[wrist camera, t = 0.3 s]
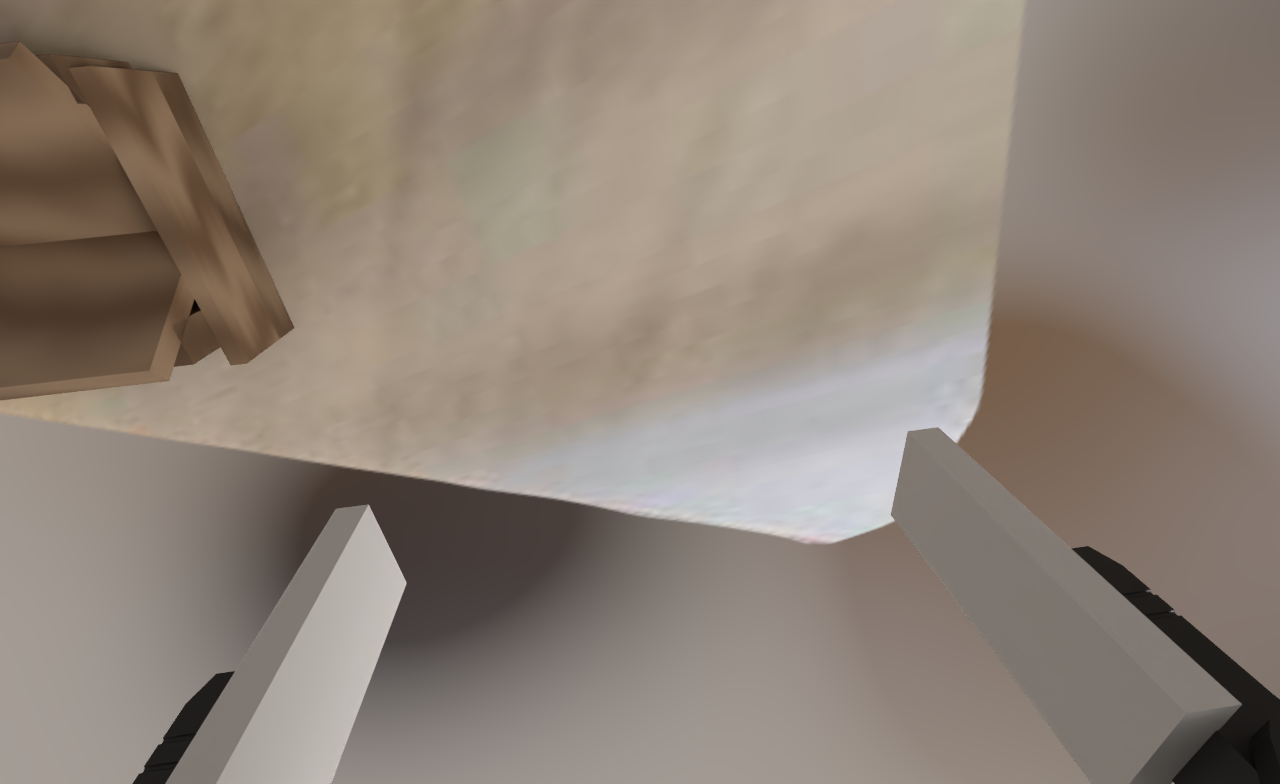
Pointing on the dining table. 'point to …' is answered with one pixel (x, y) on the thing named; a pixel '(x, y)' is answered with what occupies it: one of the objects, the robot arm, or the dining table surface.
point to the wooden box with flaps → (117, 232)
